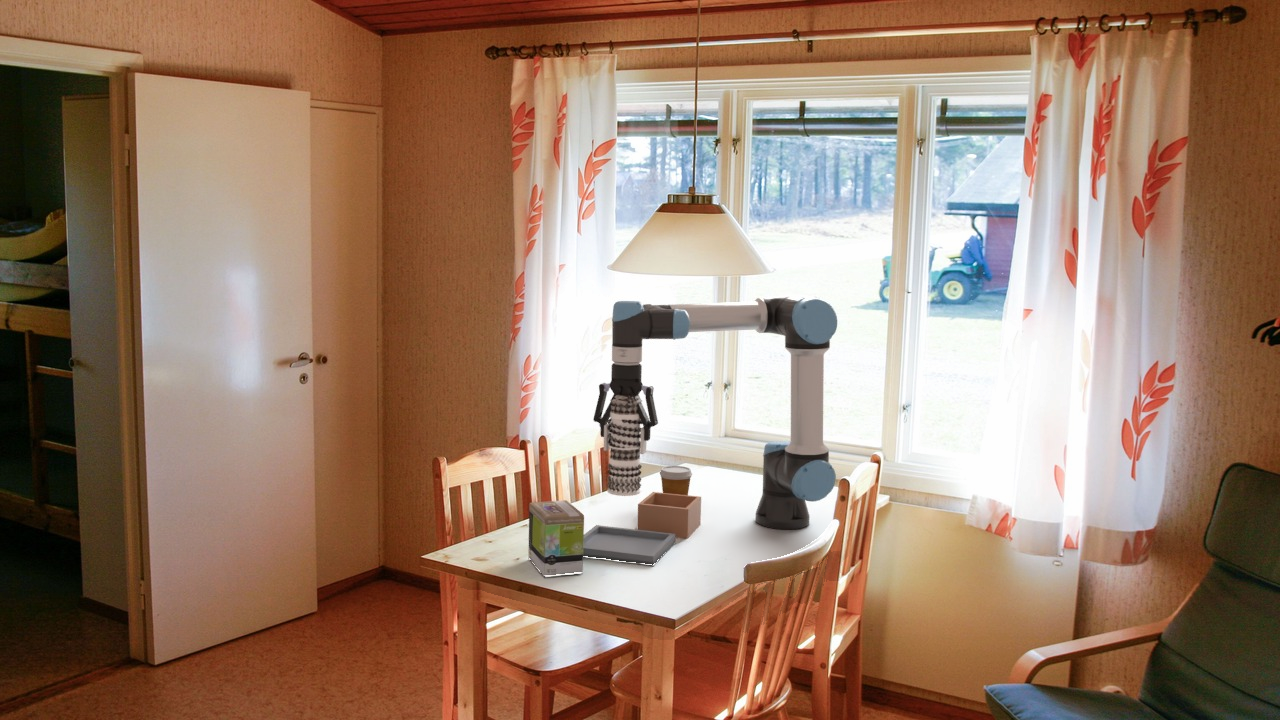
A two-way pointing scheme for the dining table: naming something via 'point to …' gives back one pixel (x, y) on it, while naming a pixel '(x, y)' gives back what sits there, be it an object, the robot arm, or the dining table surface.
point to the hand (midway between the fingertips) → (624, 451)
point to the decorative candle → (624, 446)
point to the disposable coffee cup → (675, 479)
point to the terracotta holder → (670, 514)
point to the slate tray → (626, 544)
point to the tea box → (556, 537)
